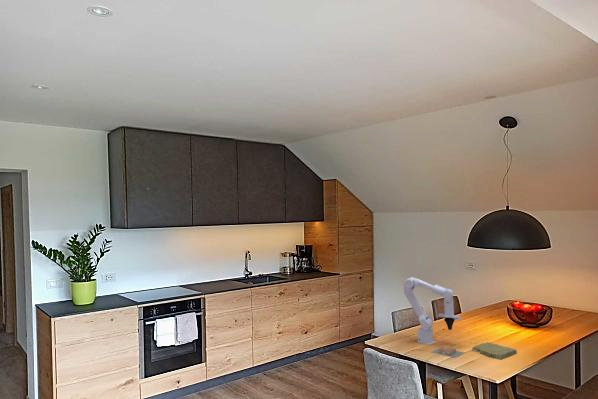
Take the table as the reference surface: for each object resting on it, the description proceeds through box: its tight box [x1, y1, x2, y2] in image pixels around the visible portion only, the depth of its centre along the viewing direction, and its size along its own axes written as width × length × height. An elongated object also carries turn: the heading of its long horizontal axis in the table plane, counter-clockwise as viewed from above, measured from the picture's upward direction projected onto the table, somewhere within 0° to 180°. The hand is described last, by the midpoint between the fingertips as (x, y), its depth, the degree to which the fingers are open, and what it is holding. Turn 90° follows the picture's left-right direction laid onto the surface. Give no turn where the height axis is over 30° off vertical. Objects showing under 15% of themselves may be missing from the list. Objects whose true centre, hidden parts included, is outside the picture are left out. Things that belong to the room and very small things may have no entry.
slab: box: [437, 345, 457, 356], centre depth 275 cm, size 2×7×8 cm
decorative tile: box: [471, 341, 518, 361], centre depth 274 cm, size 19×20×4 cm
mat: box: [430, 346, 465, 359], centre depth 275 cm, size 16×13×1 cm
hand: (450, 329), depth 290 cm, fingers closed
